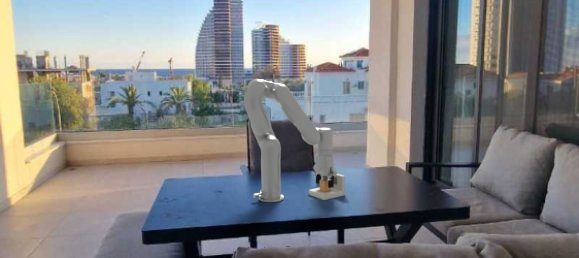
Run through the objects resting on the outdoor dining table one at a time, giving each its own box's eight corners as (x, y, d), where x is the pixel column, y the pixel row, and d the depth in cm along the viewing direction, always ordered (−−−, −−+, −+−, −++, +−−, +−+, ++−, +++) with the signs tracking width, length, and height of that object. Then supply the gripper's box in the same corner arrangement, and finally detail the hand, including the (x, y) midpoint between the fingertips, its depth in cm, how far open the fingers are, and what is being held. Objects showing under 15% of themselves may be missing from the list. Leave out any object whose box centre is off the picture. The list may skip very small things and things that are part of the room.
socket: (323, 200, 217) (323, 180, 216) (308, 194, 227) (308, 175, 226) (344, 195, 225) (345, 175, 224) (329, 189, 235) (329, 171, 234)
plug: (324, 196, 223) (324, 177, 221) (319, 195, 226) (319, 176, 225) (330, 195, 225) (330, 176, 224) (325, 193, 228) (325, 174, 227)
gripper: (308, 150, 227) (308, 182, 230) (330, 156, 213) (330, 190, 216) (319, 148, 231) (319, 180, 234) (342, 154, 218) (341, 188, 220)
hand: (324, 185), depth 225 cm, fingers open, 9 cm apart
